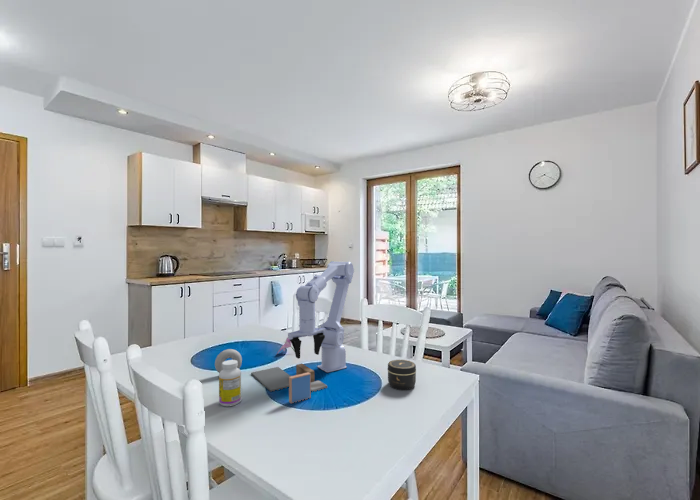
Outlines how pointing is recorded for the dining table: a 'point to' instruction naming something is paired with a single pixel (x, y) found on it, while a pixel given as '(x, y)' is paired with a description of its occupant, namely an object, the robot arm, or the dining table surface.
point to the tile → (299, 387)
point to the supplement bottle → (230, 383)
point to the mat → (272, 378)
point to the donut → (224, 355)
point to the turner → (314, 384)
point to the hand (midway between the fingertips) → (307, 355)
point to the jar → (401, 374)
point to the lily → (286, 345)
